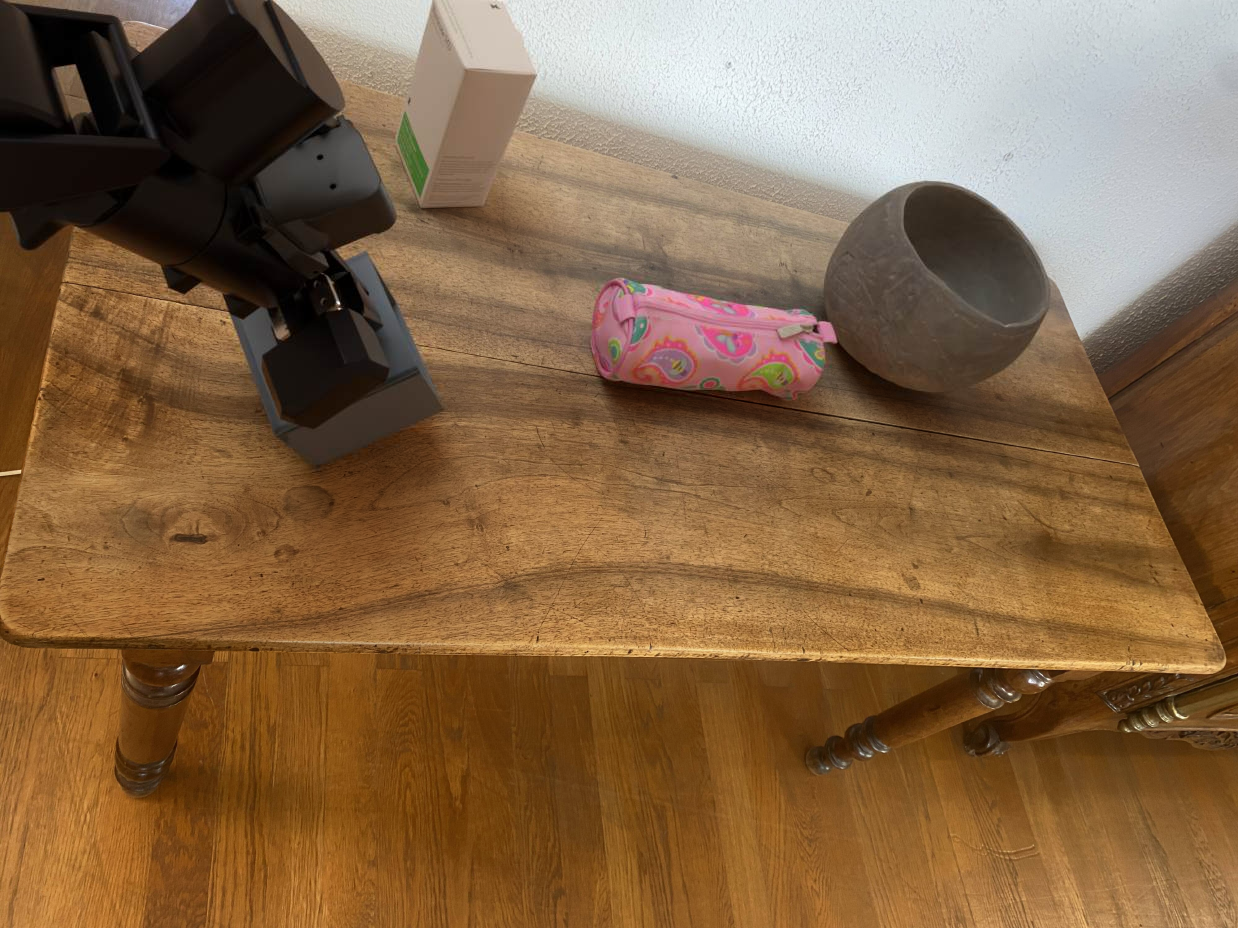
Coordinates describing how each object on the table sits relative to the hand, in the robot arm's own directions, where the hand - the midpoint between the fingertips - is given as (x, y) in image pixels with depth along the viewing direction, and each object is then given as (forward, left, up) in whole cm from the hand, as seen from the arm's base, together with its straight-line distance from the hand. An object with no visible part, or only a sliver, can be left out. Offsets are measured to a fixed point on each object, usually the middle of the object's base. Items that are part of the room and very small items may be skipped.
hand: (370, 312), depth 57 cm
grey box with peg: (-6, +2, -6) cm, 9 cm away
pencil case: (+29, -12, -11) cm, 33 cm away
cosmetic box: (+21, +16, -11) cm, 29 cm away
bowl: (+53, -20, -11) cm, 58 cm away
